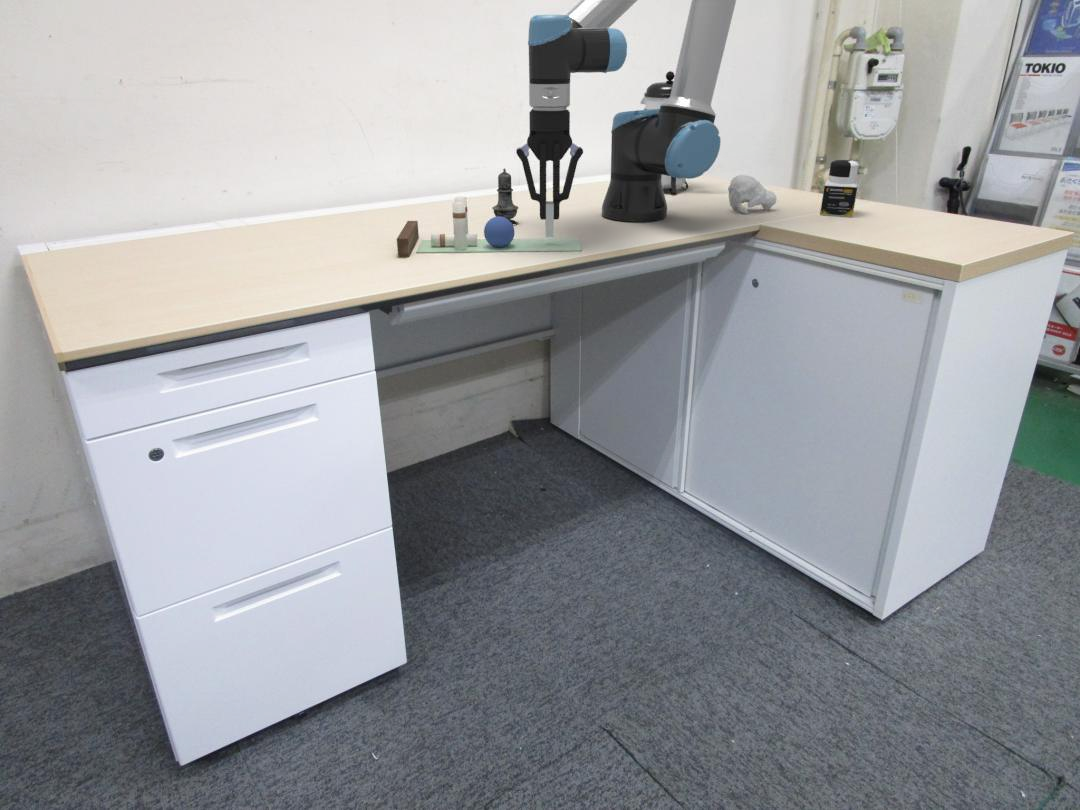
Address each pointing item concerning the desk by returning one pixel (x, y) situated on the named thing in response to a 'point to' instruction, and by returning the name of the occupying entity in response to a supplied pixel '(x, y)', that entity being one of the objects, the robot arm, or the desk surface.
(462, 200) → the pin rear right
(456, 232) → the pin rear left
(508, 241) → the ball
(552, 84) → the robot arm
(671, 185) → the coffee press
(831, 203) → the medicine bottle
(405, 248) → the backstop
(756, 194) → the grey animal figurine
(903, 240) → the desk surface
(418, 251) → the lane mark
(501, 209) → the salt shaker
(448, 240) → the pin front
